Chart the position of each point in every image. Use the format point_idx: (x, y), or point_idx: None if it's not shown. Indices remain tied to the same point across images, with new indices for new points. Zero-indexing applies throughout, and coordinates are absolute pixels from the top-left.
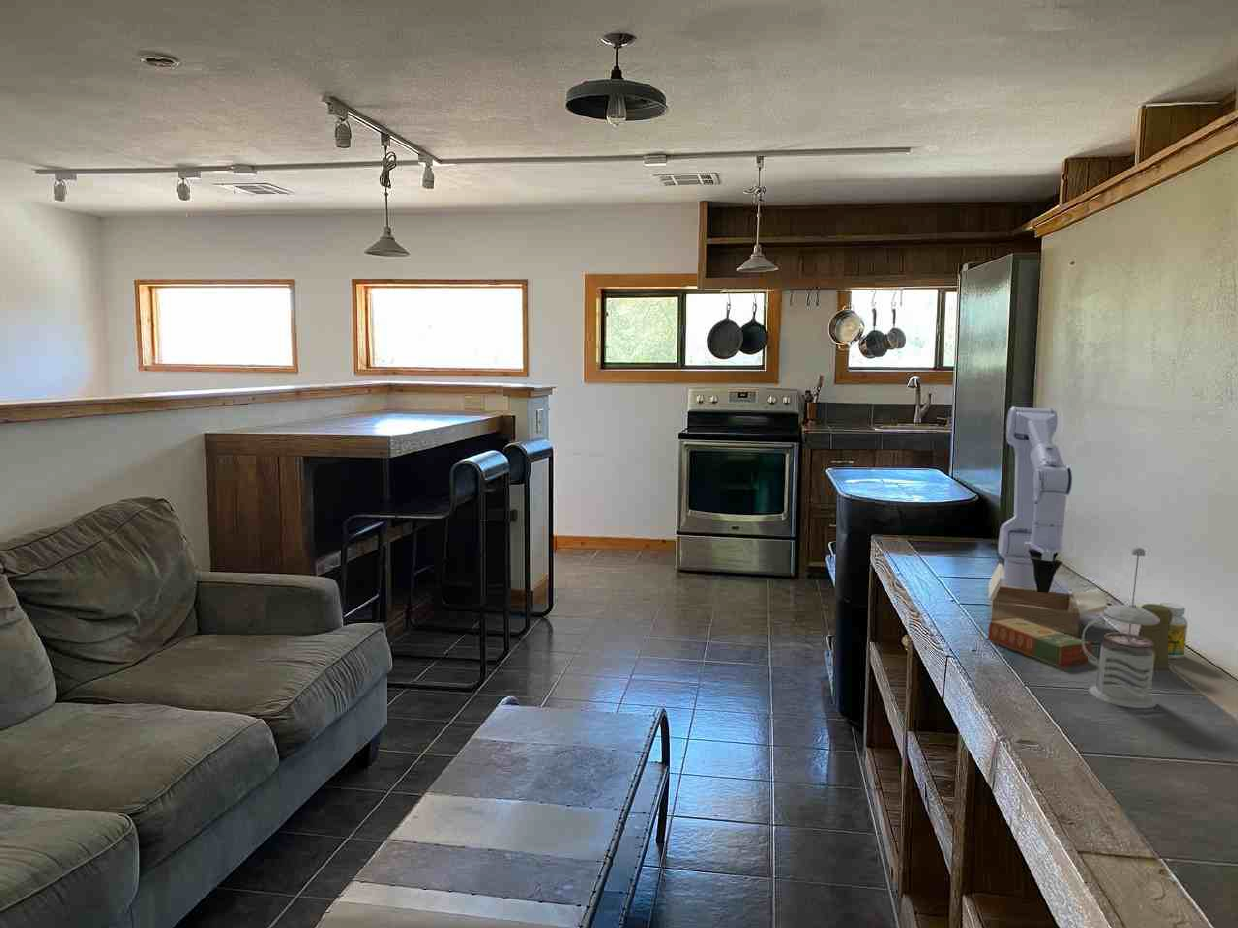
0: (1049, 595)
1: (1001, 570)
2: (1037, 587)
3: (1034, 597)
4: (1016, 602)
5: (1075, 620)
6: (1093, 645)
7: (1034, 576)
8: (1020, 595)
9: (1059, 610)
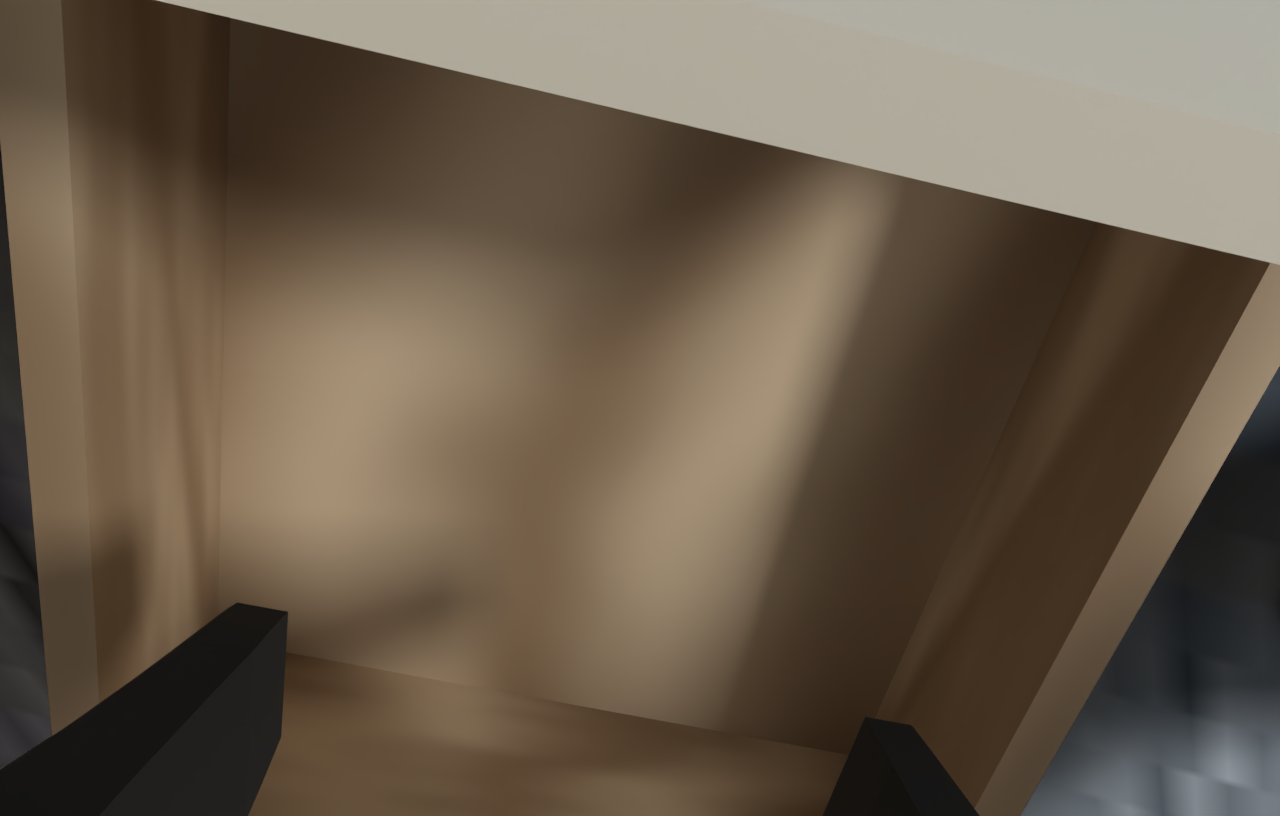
0: (966, 760)
1: (869, 100)
2: (184, 648)
3: (1015, 598)
4: (1062, 377)
5: None
6: (31, 686)
7: (906, 800)
8: (1087, 456)
9: (57, 667)
